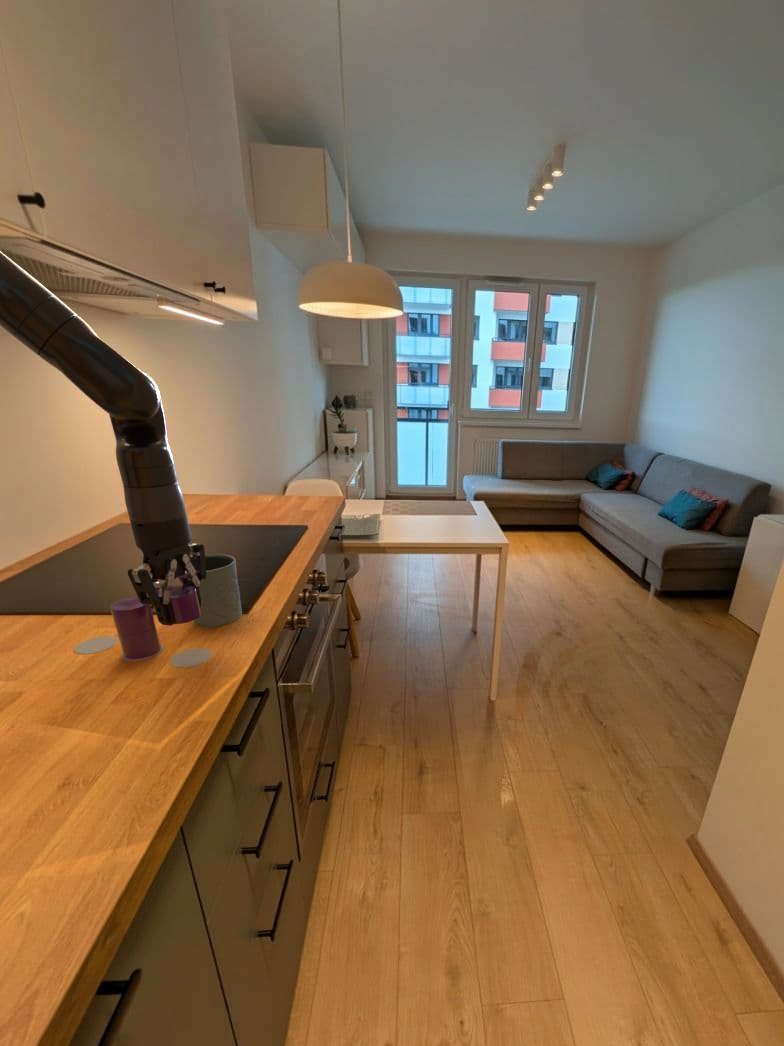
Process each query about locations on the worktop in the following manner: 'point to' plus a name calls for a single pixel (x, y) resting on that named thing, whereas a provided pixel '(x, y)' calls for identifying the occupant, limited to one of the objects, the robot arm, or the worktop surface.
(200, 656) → the mat
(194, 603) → the purple canister
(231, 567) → the grey cylindrical pot
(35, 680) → the worktop surface
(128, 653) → the small purple cup
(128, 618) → the purple cylinder
